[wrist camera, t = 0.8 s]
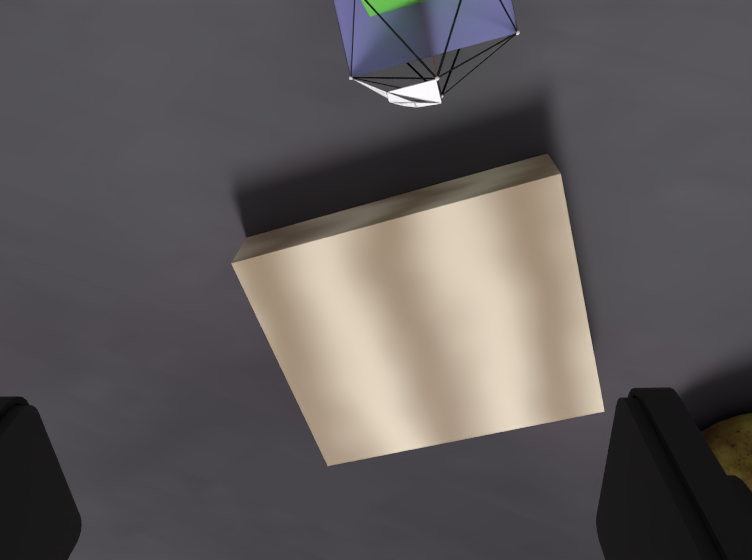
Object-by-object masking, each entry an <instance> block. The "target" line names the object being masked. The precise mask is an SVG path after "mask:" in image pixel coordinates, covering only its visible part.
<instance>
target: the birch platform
mask: <svg viewBox="0 0 752 560" xmlns="http://www.w3.org/2000/svg"><path fill="white" fill-rule="evenodd" d="M231 264H232V266H233V268H234V270H235V272H236V274H237V276H238V278H239V280H240V283H241V285H242V287H243V289H244V291H245V293H246V295H247V297H248V299H249V301H250V304H251V306H252V308H253V310H254V312H255V314H256V316H257V318H258V320H259V322H260V325H261V327H262V329H263V331H264V333H265V335H266V337H267V339H268V341H269V343H270V346H271V348H272V350H273V352H274V354H275V356H276V358H277V360H278V362H279V364H280V367H281V369H282V371H283V373H284V375H285V377H286V379H287V381H288V383H289V385H290V388H291V390H292V392H293V394H294V396H295V398H296V400H297V402H298V404H299V406H300V409H301V411H302V413H303V415H304V417H305V419H306V421H307V423H308V425H309V427H310V430H311V432H312V434H313V436H314V438H315V440H316V442H317V444H318V446H319V448H320V450H321V453H322V455H323V457H324V459H325V461H326V463H327V465H328V466H330V465H335V464H340V463H345V462H350V461H355V460H360V459H365V458H371V457H376V456H381V455H386V454H391V453H396V452H401V451H406V450H411V449H416V448H421V447H426V446H431V445H436V444H442V443H447V442H452V441H457V440H462V439H467V438H472V437H477V436H482V435H487V434H492V433H497V432H502V431H508V430H513V429H518V428H523V427H528V426H533V425H538V424H543V423H548V422H553V421H558V420H563V419H568V418H574V417H579V416H584V415H589V414H594V413H599V412H604V407H603V401H602V396H601V390H600V385H599V379H598V374H597V368H596V363H595V358H594V352H593V347H592V341H591V336H590V330H589V325H588V319H587V314H586V309H585V303H584V298H583V292H582V287H581V281H580V276H579V270H578V265H577V260H576V254H575V249H574V243H573V238H572V232H571V227H570V221H569V216H568V210H567V205H566V200H565V194H564V189H563V183H562V178H561V173H560V172H559V170H558V169H557V167H556V166H555V164H554V162H553V161H552V159H551V158H550V156H549V155H548V153H547V154H543V155H540V156H536V157H533V158H529V159H526V160H522V161H518V162H515V163H511V164H508V165H504V166H501V167H497V168H493V169H490V170H486V171H483V172H479V173H476V174H472V175H468V176H465V177H461V178H458V179H454V180H451V181H447V182H443V183H440V184H436V185H433V186H429V187H426V188H422V189H418V190H415V191H411V192H408V193H404V194H400V195H397V196H393V197H390V198H386V199H383V200H379V201H375V202H372V203H368V204H365V205H361V206H358V207H354V208H350V209H347V210H343V211H340V212H336V213H333V214H329V215H325V216H322V217H318V218H315V219H311V220H308V221H304V222H300V223H297V224H293V225H290V226H286V227H283V228H279V229H275V230H272V231H268V232H265V233H261V234H258V235H254V236H250V237H247V238H246V239H245V240H244V242H243V244H242V246H241V247H240V249H239V251H238V253H237V254H236V256H235V258H234V260H233V261H232V263H231Z"/></svg>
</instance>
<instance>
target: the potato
mask: <svg viewBox="0 0 752 560" xmlns="http://www.w3.org/2000/svg"><path fill="white" fill-rule="evenodd" d="M701 433H702V435H703V437H704V438H705V440H706V442H707V443H708V445H709V447H710V448H711V450H712V451H713V453H714V455H715V456H716V458H717V460H718V461H719V463H720V465H721V466H722V468H723V469H724V471H725V473H726V474H727V475H735V476H737V477H738V478H740V479H741V480H743V481H744V483H745V484H746V485H747V486H748V488H749V489H750V490H751V492H752V413H748V414H743V415H738V416H735V417H732V418H729V419H726V420H723V421H720V422H718V423H716V424H714V425H712V426H710V427H708V428H707V429H705V430H703V431H701Z"/></svg>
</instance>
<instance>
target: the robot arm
mask: <svg viewBox="0 0 752 560" xmlns="http://www.w3.org/2000/svg"><path fill="white" fill-rule="evenodd" d="M596 526H597V533H598V538H599V542H600V545H601V548H602V551H603V554H604V557H605V560H752V492H751V490H750V489H749V488H748V486H747V485H746V484H745V483H744V481H743V480H741V479H740V478H738V477H737V476H735V475H727V474H726V473H725V471H724V469H723V468H722V466H721V465H720V463H719V461H718V460H717V458H716V456H715V455H714V453H713V451H712V450H711V448H710V447H709V445H708V443H707V442H706V440H705V438H704V437H703V435H702V433H701V432H700V430H699V429H698V427H697V425H696V424H695V422H694V420H693V419H692V417H691V415H690V414H689V412H688V411H687V409H686V407H685V406H684V404H683V402H682V401H681V399H680V397H679V396H678V394H677V393H676V392H675V390H674V389H672V388H633V389H631V391H630V392H629V395H628V398H619V399H618V401H617V405H616V410H615V416H614V421H613V427H612V432H611V438H610V444H609V449H608V455H607V460H606V466H605V472H604V477H603V483H602V488H601V494H600V499H599V505H598V511H597V517H596ZM80 532H81V517H80V514H79V512H78V509H77V507H76V504H75V502H74V499H73V497H72V494H71V492H70V489H69V487H68V484H67V482H66V479H65V477H64V474H63V472H62V469H61V467H60V464H59V462H58V459H57V457H56V454H55V452H54V449H53V447H52V445H51V442H50V440H49V437H48V435H47V432H46V430H45V427H44V425H43V422H42V420H41V417H40V415H39V412H38V410H37V409H36V408H35V407H34V406H31V405H29V403H28V402H27V400H25V399H24V398H23V397H18V396H17V397H0V560H68V558H69V556H70V554H71V552H72V550H73V549H74V547H75V545H76V543H77V541H78V539H79V536H80Z"/></svg>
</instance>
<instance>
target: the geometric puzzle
mask: <svg viewBox="0 0 752 560" xmlns="http://www.w3.org/2000/svg"><path fill="white" fill-rule="evenodd" d="M333 1H334V6H335V10H336V15H337V19H338V24H339V28H340V32H341V37H342V41H343V46H344V50H345V55H346V59H347V64H348V68H349V72H350V76H349V79H350V80H352V79H353V78H354V80H355V79H357V78H381V79H423V80H424V81H425V82H423V83H419V84H415V85H411V86H407V87H403V88H400V87H397V88H399V89H396V90H392V91H388V92H385V91H383V90H380V89H378V88H375V87H372V86H370V85H367V84H365V83H362V82H360V81H357V80H356V81H357V82H359V83H361V84H363V85H365V86H366V87H368V88H370V89H372V90H374V91H376V92H377V93H379V94H381V95H383V96H385V97H386V98H388V101H389V102H391V103H395V104H398V105H402V106H409V107H422V106H429V105H435V104H442V98H443V95H444V94H445V93H446V92H445V93H444V90H445V88H446V85H447V82H448V80H449V77H450V74H451V72H452V70H454V69H455V68H457V67H459V66H461V65H462V64H464V63H466V62H468V61H469V60H471V59H473V58H475V57H477V56H478V55H480V54H482V53H484V52H485V51H487V50H489V49H491V48H492V47H494V46H496V45H498V44H499V43H501V42H503V41H505V40H506V39H508V38H510V37H511V38H512V37H514V36H515V35H519V34H520V32H519V31H518V29H517V24H516V19H515V14H514V8H513V3H512V0H333ZM511 34H513V35H511ZM508 35H511V36H509V37H507V38H505V39H504V40H502V41H500V42H498V43H497V44H495V45H493V46H491V47H490V48H488V49H486V50H484V51H483V52H481V53H479V54H477V55H475V56H474V57H472V58H470V59H468V60H467V61H465V62H463V63H461V64H460V65H458V66H456V67H454V68H453V66H454V64H455V61H456V58H457V56H458V53H459V51H460V48H463V47H467V46H471V45H474V44H478V43H482V42H485V41H489V40H493V39H496V38H500V37H504V36H508ZM511 38H510V39H511ZM510 39H509V40H510ZM509 40H508V41H509ZM508 41H506V42H508ZM506 42H505V43H506ZM505 43H504V44H505ZM504 44H503V45H504ZM503 45H502V46H503ZM502 46H500V47H502ZM500 47H499V48H500ZM499 48H498V49H499ZM456 49H458V51H457V53H456V56H455V59H454V61H453V64H452V67H451V69H450V70H449V71H447V72H445V73H444V74H442V75H440V76H439V74H440V70H441V67H442V64H443V61H444V57H445V54H446V52H448V51H452V50H456ZM498 49H497V50H498ZM497 50H496V51H497ZM496 51H494V52H496ZM494 52H493V53H494ZM441 53H443V56H442V60H441V63H440V66H439V70H438V73H436V76H435V74H434V73H433V72H432V71H431V70H430V69H429V68H428V67H427V66H426V65H425V63H424V62H423V61H422V60H421V59H422V58H426V57H430V56H432V58H433V56H434V55H437V54H441ZM493 53H492V54H493ZM492 54H491V55H492ZM491 55H490V56H491ZM490 56H488V57H490ZM488 57H487V58H488ZM487 58H486V59H487ZM486 59H485V60H486ZM415 60H419V61H420V62H421V63H422V64H423V65H424V66H425V68H426V69H427V70H428V71H429V72H430V73H431V74H432V75H433V76H434V77H435V78H424V77H422V76H421V75H420V74H419V73H418V72H417V71H416V70H415V69H414V68H413V67H412V66H411V65H410V64H409V63H408V62H411V61H415ZM485 60H484V61H485ZM484 61H482V62H484ZM482 62H481V63H482ZM404 63H407V64H408V65H409V66H410V67H411V68H412V69H413V70H414V71H415V72H416V73H417V74H418V75H419V76H420V77H421V78H409V77H356V76H359V75H363V74H367V73H371V72H374V71H378V70H382V69H385V68H389V67H393V66H396V65H400V64H404ZM433 63H434V59H433ZM481 63H480V64H481ZM480 64H479V65H480ZM479 65H478V66H479ZM478 66H476V67H478ZM434 67H435V64H434ZM476 67H475V68H476ZM475 68H474V69H475ZM474 69H473V70H474ZM473 70H472V71H473ZM472 71H470V72H472ZM435 72H436V68H435ZM448 72H449V75H448V77H447V80H446V83H445V85H444V88H443V91H442V93H441V90H440V86H439V82H438V80H439V77H441V76H443V75H445V74H447V73H448ZM470 72H469V73H470ZM469 73H468V74H469ZM468 74H467V75H468ZM467 75H466V76H467ZM466 76H465V77H466ZM463 78H464V77H463ZM463 78H462V79H463ZM426 79H434V80H430V81H427V80H426ZM462 79H461V80H462ZM359 80H362V79H359ZM461 80H460V81H461ZM364 81H367V80H364ZM460 81H459V82H460ZM368 82H372V81H368ZM373 83H376V82H373ZM457 83H458V82H457ZM457 83H456V84H457ZM378 84H381V83H378ZM456 84H455V85H456ZM383 85H386V84H383ZM455 85H454V86H455ZM388 86H391V85H388ZM454 86H453V87H454ZM392 87H396V86H392ZM451 88H452V87H451ZM451 88H450V89H451ZM450 89H449V90H450ZM449 90H448V91H449ZM448 91H447V92H448ZM443 93H444V94H443ZM414 102H420V103H414Z"/></svg>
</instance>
